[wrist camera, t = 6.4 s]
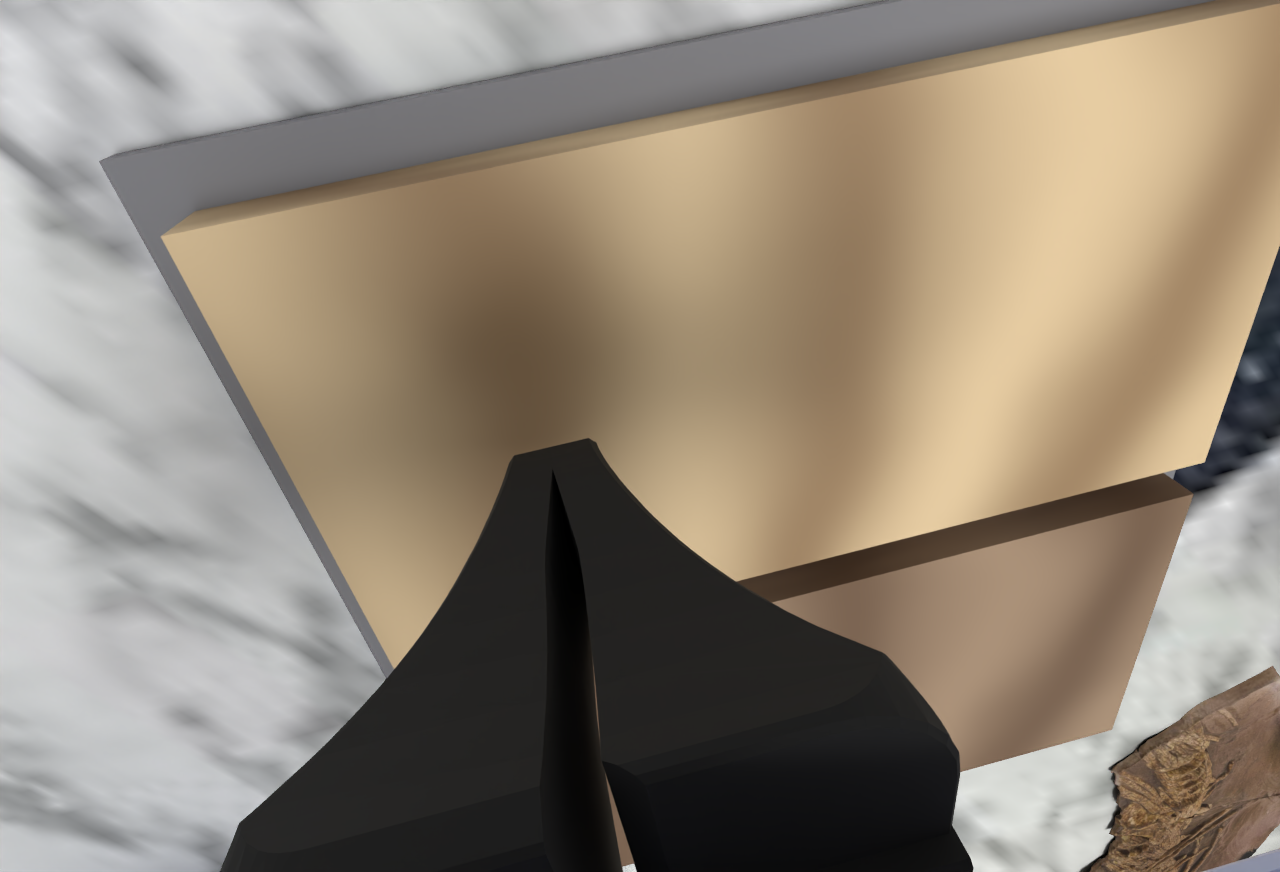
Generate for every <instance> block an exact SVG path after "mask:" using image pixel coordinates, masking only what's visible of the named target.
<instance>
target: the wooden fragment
mask: <svg viewBox="0 0 1280 872" xmlns="http://www.w3.org/2000/svg"><path fill="white" fill-rule="evenodd" d="M1111 773H1114V774H1115V781H1113V782H1114V784H1116V785H1117V786H1116V787H1117V788H1118V790H1119V793H1118V796H1117V801H1116V803H1117V804H1118V805H1119V807H1121V812H1120V815H1116V816H1115V823H1114V825H1113V827H1112V829H1111V831H1110V833H1109V834H1111V835H1114V836H1116V837H1115V840H1114V841H1113V842H1112V843H1110V846H1109V851H1108V855H1107V856H1106V855H1105V856H1106V857H1105V858H1102V859H1098V860H1097V862H1096V863H1095V864H1094V865H1092V866H1091V870H1090V872H1203V871H1206V870H1209V869H1213V868H1216V867H1219V866H1223V865H1226V864H1230V863H1233V862H1236V861H1240V860H1243V859H1246V858H1249V857H1250V856H1252V855H1253V854H1254V853H1255V852H1256V850H1257V849H1258V848H1259V846H1260V845H1261V844H1262V843H1263V842H1264V841H1265V840H1266V838H1267V837H1268V836H1269V834H1270V833H1271V832H1272V831H1273V830H1274V829H1275V828H1276V827H1277V826H1278V825H1279V824H1280V676H1279V675H1278V673H1277V672H1276V670H1275V669H1274V667H1273V666H1272V667H1270V668H1268V669H1267V670H1265V671H1263V672H1261V673H1260V674H1258V675H1256V676H1254V677H1252V678H1250V679H1248V680H1246V681H1244V682H1242V683H1240V684H1238V685H1237V686H1235V687H1233V688H1231V689H1229V690H1227V691H1225V692H1223V693H1221V694H1218V695H1216V696H1214V697H1212V698H1209V699H1207V700H1205V701H1203V702H1202V703H1200V704H1198V705H1197V706H1195V707H1194V708H1192V709H1191V710H1190V711H1188V712H1187V713H1186V714H1185V715H1184V716H1183V717H1182V718H1181V720H1179V721H1177V722H1176V723H1174V724H1173V725H1171V726H1169V727H1168V728H1167V729H1166V730H1164V731H1163V732H1161V733H1159V734H1158V735H1156V736H1155V737H1153V738H1151V739H1149V740H1147V741H1146V743H1145V744H1143V745H1141V746H1140V748H1139V752H1138V751H1137V749H1136V750H1135V752H1134V753H1133V754H1131V755H1130V756H1128V757H1127V758H1126V759H1125V760H1123V761H1121V762H1119V763H1118V764H1117V765H1115V766H1113V768H1112V771H1111Z"/></svg>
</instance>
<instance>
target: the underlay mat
mask: <svg viewBox="0 0 1280 872" xmlns="http://www.w3.org/2000/svg"><path fill="white" fill-rule="evenodd" d="M1210 1H1215V0H886V1H881V2H876V3H871V4H866V5H861V6H856V7H851V8H846V9H841V10H836V11H831V12H826V13H821V14H816V15H811V16H806V17H801V18H796V19H791V20H786V21H781V22H776V23H771V24H766V25H761V26H756V27H751V28H746V29H741V30H736V31H731V32H726V33H721V34H715V35H710V36H705V37H700V38H695V39H690V40H685V41H680V42H675V43H670V44H665V45H660V46H655V47H650V48H645V49H640V50H635V51H630V52H625V53H620V54H615V55H610V56H605V57H600V58H595V59H590V60H585V61H580V62H575V63H570V64H565V65H560V66H555V67H550V68H545V69H540V70H535V71H530V72H525V73H520V74H515V75H510V76H505V77H500V78H495V79H490V80H485V81H480V82H475V83H470V84H465V85H460V86H455V87H450V88H445V89H440V90H435V91H430V92H425V93H420V94H415V95H410V96H405V97H400V98H395V99H390V100H385V101H380V102H375V103H370V104H365V105H360V106H355V107H350V108H345V109H340V110H335V111H330V112H325V113H320V114H315V115H310V116H305V117H300V118H295V119H290V120H285V121H280V122H275V123H270V124H265V125H260V126H255V127H250V128H245V129H240V130H235V131H230V132H225V133H219V134H214V135H209V136H204V137H199V138H194V139H189V140H184V141H179V142H174V143H169V144H164V145H159V146H154V147H149V148H144V149H139V150H134V151H129V152H124V153H119V154H115V155H113V156H110V157H108V158H106V159H103V160H101V161H99V162H100V164H101V166H102V168H103V169H104V171H105V173H106V175H107V177H108V178H109V180H110V182H111V184H112V186H113V187H114V189H115V191H116V193H117V195H118V196H119V198H120V200H121V202H122V204H123V205H124V207H125V209H126V211H127V213H128V214H129V216H130V218H131V220H132V222H133V223H134V225H135V227H136V229H137V231H138V232H139V234H140V236H141V238H142V240H143V241H144V243H145V245H146V247H147V249H148V250H149V252H150V254H151V256H152V258H153V259H154V261H155V263H156V265H157V267H158V268H159V270H160V272H161V274H162V276H163V277H164V279H165V281H166V283H167V285H168V286H169V288H170V290H171V292H172V294H173V295H174V297H175V299H176V301H177V303H178V304H179V306H180V308H181V310H182V312H183V313H184V315H185V317H186V319H187V321H188V322H189V324H190V326H191V328H192V330H193V331H194V333H195V335H196V337H197V339H198V340H199V342H200V344H201V346H202V348H203V349H204V351H205V353H206V355H207V357H208V358H209V360H210V362H211V364H212V366H213V367H214V369H215V371H216V373H217V375H218V376H219V378H220V380H221V382H222V384H223V385H224V387H225V389H226V391H227V393H228V394H229V396H230V398H231V400H232V402H233V403H234V405H235V407H236V409H237V411H238V412H239V414H240V416H241V418H242V420H243V421H244V423H245V425H246V427H247V428H248V430H249V432H250V434H251V436H252V437H253V439H254V441H255V443H256V445H257V446H258V448H259V450H260V452H261V454H262V455H263V457H264V459H265V461H266V463H267V464H268V466H269V468H270V470H271V472H272V473H273V475H274V477H275V479H276V481H277V482H278V484H279V486H280V488H281V490H282V491H283V493H284V495H285V497H286V499H287V500H288V502H289V504H290V506H291V508H292V509H293V511H294V513H295V515H296V517H297V518H298V520H299V522H300V524H301V526H302V527H303V529H304V531H305V533H306V535H307V536H308V538H309V540H310V542H311V544H312V545H313V547H314V549H315V551H316V553H317V554H318V556H319V558H320V560H321V562H322V563H323V565H324V567H325V569H326V571H327V572H328V574H329V576H330V578H331V580H332V581H333V583H334V585H335V587H336V589H337V590H338V592H339V594H340V596H341V598H342V599H343V601H344V603H345V605H346V607H347V608H348V610H349V612H350V614H351V616H352V617H353V619H354V621H355V623H356V625H357V626H358V628H359V630H360V632H361V634H362V635H363V637H364V639H365V641H366V643H367V644H368V646H369V648H370V650H371V652H372V653H373V655H374V657H375V659H376V661H377V662H378V664H379V666H380V668H381V670H382V671H383V673H384V675H385V677H386V679H387V678H388V676H389V675H390V674H391V673H392V671H393V670H394V669H395V668H393V666H392V665H391V663H390V661H389V659H388V657H387V655H386V653H385V652H384V650H383V648H382V646H381V644H380V642H379V640H378V639H377V637H376V635H375V633H374V631H373V629H372V627H371V626H370V624H369V622H368V620H367V618H366V616H365V615H364V613H363V611H362V609H361V607H360V605H359V603H358V602H357V600H356V598H355V596H354V594H353V592H352V590H351V589H350V587H349V585H348V583H347V581H346V579H345V577H344V576H343V574H342V572H341V570H340V568H339V566H338V564H337V563H336V561H335V559H334V557H333V555H332V553H331V552H330V550H329V548H328V546H327V544H326V542H325V540H324V539H323V537H322V535H321V533H320V531H319V529H318V527H317V526H316V524H315V522H314V520H313V518H312V516H311V514H310V513H309V511H308V509H307V507H306V505H305V503H304V501H303V500H302V498H301V496H300V494H299V492H298V490H297V489H296V487H295V485H294V483H293V481H292V479H291V477H290V476H289V474H288V472H287V470H286V468H285V466H284V464H283V463H282V461H281V459H280V457H279V455H278V453H277V451H276V450H275V448H274V446H273V444H272V442H271V440H270V438H269V437H268V435H267V433H266V431H265V429H264V427H263V426H262V424H261V422H260V420H259V418H258V416H257V414H256V413H255V411H254V409H253V407H252V405H251V403H250V401H249V400H248V398H247V396H246V394H245V392H244V390H243V388H242V387H241V385H240V383H239V381H238V379H237V377H236V375H235V374H234V372H233V370H232V368H231V366H230V364H229V362H228V361H227V359H226V357H225V355H224V353H223V351H222V350H221V348H220V346H219V344H218V342H217V340H216V338H215V337H214V335H213V333H212V331H211V329H210V327H209V325H208V324H207V322H206V320H205V318H204V316H203V314H202V312H201V311H200V309H199V307H198V305H197V303H196V301H195V299H194V298H193V296H192V294H191V292H190V290H189V288H188V287H187V285H186V283H185V281H184V279H183V277H182V275H181V274H180V272H179V270H178V268H177V266H176V264H175V262H174V261H173V259H172V257H171V255H170V253H169V251H168V249H167V248H166V246H165V244H164V242H163V240H162V238H161V236H162V235H163V234H165V233H166V232H167V231H169V230H170V229H171V228H173V227H174V226H176V225H177V224H178V223H180V222H181V221H182V220H184V219H185V218H186V217H188V216H189V215H190V214H192V213H193V212H194V211H198V210H203V209H208V208H213V207H218V206H222V205H227V204H232V203H237V202H242V201H247V200H252V199H256V198H261V197H266V196H271V195H276V194H281V193H285V192H290V191H295V190H300V189H305V188H310V187H314V186H319V185H324V184H329V183H334V182H339V181H344V180H348V179H353V178H358V177H363V176H368V175H373V174H377V173H382V172H387V171H392V170H397V169H402V168H406V167H411V166H416V165H421V164H426V163H431V162H436V161H440V160H445V159H450V158H455V157H460V156H465V155H469V154H474V153H479V152H484V151H489V150H494V149H499V148H503V147H508V146H513V145H518V144H523V143H528V142H532V141H537V140H542V139H547V138H552V137H557V136H561V135H566V134H571V133H576V132H581V131H586V130H591V129H595V128H600V127H605V126H610V125H615V124H620V123H624V122H629V121H634V120H639V119H644V118H649V117H653V116H658V115H663V114H668V113H673V112H678V111H683V110H687V109H692V108H697V107H702V106H707V105H712V104H716V103H721V102H726V101H731V100H736V99H741V98H746V97H750V96H755V95H760V94H765V93H770V92H775V91H779V90H784V89H789V88H794V87H799V86H804V85H808V84H813V83H818V82H823V81H828V80H833V79H838V78H842V77H847V76H852V75H857V74H862V73H867V72H871V71H876V70H881V69H886V68H891V67H896V66H900V65H905V64H910V63H915V62H920V61H925V60H930V59H934V58H939V57H944V56H949V55H954V54H959V53H963V52H968V51H973V50H978V49H983V48H988V47H993V46H997V45H1002V44H1007V43H1012V42H1017V41H1022V40H1026V39H1031V38H1036V37H1041V36H1046V35H1051V34H1055V33H1060V32H1065V31H1070V30H1075V29H1080V28H1085V27H1089V26H1094V25H1099V24H1104V23H1109V22H1114V21H1118V20H1123V19H1128V18H1133V17H1138V16H1143V15H1148V14H1152V13H1157V12H1162V11H1167V10H1172V9H1177V8H1181V7H1186V6H1191V5H1196V4H1201V3H1206V2H1210ZM1175 471H1176V470H1172V471H1168V472H1164V474H1166V475H1167V476H1169V477H1170V478H1171V479H1173V477H1174V474H1175Z"/></svg>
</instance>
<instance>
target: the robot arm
mask: <svg viewBox="0 0 1280 872" xmlns="http://www.w3.org/2000/svg"><path fill="white" fill-rule="evenodd" d="M592 657H593V658H592ZM593 666H594V672H593ZM594 676H595V685H596V697H597V710H598V721H597V712H596V698H595V685H594ZM598 722H599V730H598ZM599 734H600V738H599ZM605 773H606V774H605ZM606 777H607V780H608V783H609V786H610V789H611V792H612V795H613V798H614V801H615V805H616V808H617V811H618V814H619V817H620V820H621V823H622V826H623V830H624V833H625V836H626V839H627V842H628V845H629V848H630V851H631V854H632V858H633V861H634V864H635V867H636V870H637V872H973V865H972V862H971V859H970V857H969V855H968V853H967V851H966V849H965V848H964V846H963V844H962V842H961V841H960V839H959V837H958V835H957V834H956V832H955V830H954V828H953V826H952V821H953V815H954V808H955V802H956V796H957V790H958V784H959V778H960V755H959V751H958V749H957V748H956V746H955V744H954V743H953V741H952V739H951V737H950V735H949V733H948V731H947V730H946V728H945V726H944V725H943V723H942V722H941V720H940V719H939V717H938V716H937V715H936V713H935V712H934V710H933V709H932V708H931V706H930V705H929V704H928V703H927V701H926V700H925V699H924V698H923V696H922V695H921V694H920V693H919V692H918V690H917V689H916V688H915V687H914V685H913V684H912V683H911V682H910V681H909V680H908V678H907V677H906V676H905V675H904V674H903V673H902V672H901V670H900V669H899V668H898V667H897V666H896V665H895V664H894V663H893V661H892V660H891V659H890V658H889V657H888V656H887V655H886V654H885V653H883V652H881V651H878V650H876V649H873V648H871V647H868V646H866V645H863V644H861V643H858V642H856V641H853V640H851V639H848V638H846V637H843V636H841V635H838V634H836V633H833V632H831V631H828V630H826V629H823V628H821V627H818V626H816V625H814V624H812V623H810V622H808V621H806V620H804V619H802V618H800V617H798V616H796V615H794V614H792V613H789V612H787V611H785V610H784V609H782V608H780V607H779V606H777V605H775V604H773V603H772V602H770V601H768V600H767V599H765V598H763V597H761V596H760V595H758V594H756V593H755V592H753V591H751V590H749V589H748V588H746V587H744V586H743V585H741V584H739V583H737V582H736V581H734V580H733V579H731V578H730V577H729V576H727V575H726V574H724V573H723V572H721V571H720V570H718V569H717V568H715V567H714V566H713V565H711V564H710V563H708V562H707V561H706V560H704V559H703V558H702V557H701V556H699V555H698V554H697V553H695V552H694V551H693V550H691V549H690V548H689V547H688V546H686V545H685V544H684V543H683V542H682V541H680V540H679V539H678V538H677V537H676V536H675V535H673V534H672V533H671V532H670V531H669V530H668V529H667V528H666V527H665V526H664V525H663V524H661V523H660V522H659V521H658V520H657V519H656V518H655V517H654V516H653V515H652V514H651V513H650V512H649V511H648V510H647V509H646V508H645V507H644V506H643V505H642V504H641V503H640V501H639V500H638V499H637V498H636V497H635V496H634V495H633V494H632V493H631V492H630V491H629V489H628V488H627V487H626V486H625V485H624V484H623V482H622V481H621V480H620V479H619V478H618V476H617V475H616V474H615V472H614V471H613V470H612V468H611V467H610V466H609V464H608V463H607V461H606V460H605V458H604V457H603V455H602V453H601V451H600V450H599V448H598V445H597V443H596V442H595V441H593V440H591V439H590V438H586V439H582V440H578V441H573V442H569V443H565V444H560V445H556V446H552V447H548V448H543V449H539V450H535V451H531V452H526V453H522V454H518V455H514V456H513V458H512V459H511V461H510V462H509V464H508V468H507V471H506V474H505V477H504V480H503V482H502V485H501V488H500V490H499V493H498V495H497V498H496V500H495V503H494V505H493V508H492V510H491V512H490V515H489V517H488V519H487V521H486V523H485V525H484V528H483V530H482V532H481V534H480V536H479V539H478V541H477V543H476V545H475V547H474V549H473V550H472V552H471V554H470V556H469V558H468V560H467V561H466V563H465V565H464V567H463V569H462V571H461V572H460V574H459V576H458V578H457V580H456V582H455V583H454V585H453V587H452V588H451V590H450V592H449V593H448V595H447V597H446V598H445V600H444V601H443V603H442V604H441V606H440V608H439V609H438V611H437V612H436V614H435V615H434V617H433V618H432V620H431V621H430V622H429V624H428V625H427V627H426V628H425V630H424V631H423V633H422V634H421V635H420V637H419V638H418V639H417V641H416V642H415V643H414V645H413V646H412V647H411V649H410V650H409V651H408V653H407V654H406V655H405V656H404V658H403V659H402V660H401V661H400V663H399V664H398V665H397V666H396V668H395V669H394V670H393V671H392V673H391V674H390V675H389V676H388V678H387V679H386V680H385V681H384V683H383V684H382V685H381V686H380V687H379V688H378V689H377V691H376V692H375V693H374V694H373V695H372V696H371V697H370V698H369V699H368V701H367V702H366V703H365V704H364V705H363V706H362V707H361V708H360V709H359V710H358V712H357V713H356V714H355V715H354V716H353V717H352V718H351V719H350V720H349V721H348V722H347V723H346V724H345V725H344V726H343V727H342V728H341V729H340V730H339V731H338V732H337V733H336V734H335V735H334V736H333V737H332V739H331V740H330V741H329V742H328V743H327V744H326V745H325V746H323V747H322V748H321V749H320V750H319V751H318V752H317V753H316V754H315V755H314V756H313V757H312V758H311V759H310V760H309V761H308V762H307V763H306V764H305V765H304V766H302V767H301V768H300V769H299V770H298V771H297V772H296V773H295V774H294V775H293V776H291V777H290V778H289V779H288V780H287V781H286V782H285V783H284V784H283V785H282V786H281V787H279V788H278V789H277V790H276V791H275V792H274V793H273V794H272V795H271V796H270V797H268V798H267V799H266V800H265V801H264V802H263V803H262V804H261V805H260V806H259V807H257V808H256V809H255V810H254V811H253V812H252V813H251V814H249V815H248V816H247V817H246V818H245V819H244V820H242V821H241V822H240V823H239V825H238V828H237V830H236V833H235V836H234V838H233V841H232V843H231V846H230V848H229V851H228V853H227V856H226V858H225V861H224V863H223V865H222V868H221V871H220V872H623V870H622V864H621V859H620V853H619V848H618V842H617V837H616V831H615V825H614V820H613V814H612V809H611V803H610V797H609V792H608V786H607V780H606ZM1203 872H1280V849H1277V850H1273V851H1270V852H1266V853H1263V854H1260V855H1256V856H1253V857H1250V858H1246V859H1243V860H1240V861H1236V862H1233V863H1230V864H1226V865H1223V866H1219V867H1216V868H1213V869H1209V870H1206V871H1203Z"/></svg>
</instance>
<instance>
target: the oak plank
mask: <svg viewBox="0 0 1280 872" xmlns="http://www.w3.org/2000/svg"><path fill="white" fill-rule="evenodd" d="M161 238H162V240H163V242H164V244H165V246H166V248H167V249H168V251H169V253H170V255H171V257H172V259H173V261H174V262H175V264H176V266H177V268H178V270H179V272H180V274H181V275H182V277H183V279H184V281H185V283H186V285H187V287H188V288H189V290H190V292H191V294H192V296H193V298H194V299H195V301H196V303H197V305H198V307H199V309H200V311H201V312H202V314H203V316H204V318H205V320H206V322H207V324H208V325H209V327H210V329H211V331H212V333H213V335H214V337H215V338H216V340H217V342H218V344H219V346H220V348H221V350H222V351H223V353H224V355H225V357H226V359H227V361H228V362H229V364H230V366H231V368H232V370H233V372H234V374H235V375H236V377H237V379H238V381H239V383H240V385H241V387H242V388H243V390H244V392H245V394H246V396H247V398H248V400H249V401H250V403H251V405H252V407H253V409H254V411H255V413H256V414H257V416H258V418H259V420H260V422H261V424H262V426H263V427H264V429H265V431H266V433H267V435H268V437H269V438H270V440H271V442H272V444H273V446H274V448H275V450H276V451H277V453H278V455H279V457H280V459H281V461H282V463H283V464H284V466H285V468H286V470H287V472H288V474H289V476H290V477H291V479H292V481H293V483H294V485H295V487H296V489H297V490H298V492H299V494H300V496H301V498H302V500H303V501H304V503H305V505H306V507H307V509H308V511H309V513H310V514H311V516H312V518H313V520H314V522H315V524H316V526H317V527H318V529H319V531H320V533H321V535H322V537H323V539H324V540H325V542H326V544H327V546H328V548H329V550H330V552H331V553H332V555H333V557H334V559H335V561H336V563H337V564H338V566H339V568H340V570H341V572H342V574H343V576H344V577H345V579H346V581H347V583H348V585H349V587H350V589H351V590H352V592H353V594H354V596H355V598H356V600H357V602H358V603H359V605H360V607H361V609H362V611H363V613H364V615H365V616H366V618H367V620H368V622H369V624H370V626H371V627H372V629H373V631H374V633H375V635H376V637H377V639H378V640H379V642H380V644H381V646H382V648H383V650H384V652H385V653H386V655H387V657H388V659H389V661H390V663H391V665H392V666H393V668H396V666H397V665H398V664H399V663H400V661H401V660H402V659H403V658H404V656H405V655H406V654H407V653H408V651H409V650H410V649H411V647H412V646H413V645H414V643H415V642H416V641H417V639H418V638H419V637H420V635H421V634H422V633H423V631H424V630H425V628H426V627H427V625H428V624H429V622H430V621H431V620H432V618H433V617H434V615H435V614H436V612H437V611H438V609H439V608H440V606H441V604H442V603H443V601H444V600H445V598H446V597H447V595H448V593H449V592H450V590H451V588H452V587H453V585H454V583H455V582H456V580H457V578H458V576H459V574H460V572H461V571H462V569H463V567H464V565H465V563H466V561H467V560H468V558H469V556H470V554H471V552H472V550H473V549H474V547H475V545H476V543H477V541H478V539H479V536H480V534H481V532H482V530H483V528H484V525H485V523H486V521H487V519H488V517H489V515H490V512H491V510H492V508H493V505H494V503H495V500H496V498H497V495H498V493H499V490H500V488H501V485H502V482H503V480H504V477H505V474H506V471H507V468H508V464H509V462H510V461H511V459H512V458H513V456H514V455H518V454H522V453H526V452H531V451H535V450H539V449H543V448H548V447H552V446H556V445H560V444H565V443H569V442H573V441H578V440H582V439H586V438H590V439H591V440H593V441H595V442H596V443H597V445H598V448H599V450H600V451H601V453H602V455H603V457H604V458H605V460H606V461H607V463H608V464H609V466H610V467H611V468H612V470H613V471H614V472H615V474H616V475H617V476H618V478H619V479H620V480H621V481H622V482H623V484H624V485H625V486H626V487H627V488H628V489H629V491H630V492H631V493H632V494H633V495H634V496H635V497H636V498H637V499H638V500H639V501H640V503H641V504H642V505H643V506H644V507H645V508H646V509H647V510H648V511H649V512H650V513H651V514H652V515H653V516H654V517H655V518H656V519H657V520H658V521H659V522H660V523H661V524H663V525H664V526H665V527H666V528H667V529H668V530H669V531H670V532H671V533H672V534H673V535H675V536H676V537H677V538H678V539H679V540H680V541H682V542H683V543H684V544H685V545H686V546H688V547H689V548H690V549H691V550H693V551H694V552H695V553H697V554H698V555H699V556H701V557H702V558H703V559H704V560H706V561H707V562H708V563H710V564H711V565H713V566H714V567H715V568H717V569H718V570H720V571H721V572H723V573H724V574H726V575H727V576H729V577H730V578H731V579H733V580H734V581H740V580H744V579H748V578H752V577H756V576H760V575H764V574H768V573H772V572H775V571H779V570H783V569H787V568H791V567H795V566H799V565H803V564H807V563H811V562H815V561H819V560H823V559H827V558H830V557H834V556H838V555H842V554H846V553H850V552H854V551H858V550H862V549H866V548H870V547H874V546H878V545H882V544H885V543H889V542H893V541H897V540H901V539H905V538H909V537H913V536H917V535H921V534H925V533H929V532H933V531H937V530H940V529H944V528H948V527H952V526H956V525H960V524H964V523H968V522H972V521H976V520H980V519H984V518H988V517H992V516H996V515H999V514H1003V513H1007V512H1011V511H1015V510H1019V509H1023V508H1027V507H1031V506H1035V505H1039V504H1043V503H1047V502H1051V501H1054V500H1058V499H1062V498H1066V497H1070V496H1074V495H1078V494H1082V493H1086V492H1090V491H1094V490H1098V489H1102V488H1106V487H1109V486H1113V485H1117V484H1121V483H1125V482H1129V481H1133V480H1137V479H1141V478H1145V477H1149V476H1153V475H1157V474H1161V473H1164V472H1168V471H1172V470H1176V469H1180V468H1184V467H1188V466H1192V465H1196V464H1200V463H1204V462H1205V460H1206V457H1207V454H1208V451H1209V448H1210V445H1211V442H1212V439H1213V437H1214V434H1215V431H1216V428H1217V425H1218V422H1219V419H1220V416H1221V413H1222V411H1223V408H1224V405H1225V402H1226V399H1227V396H1228V393H1229V390H1230V387H1231V384H1232V382H1233V379H1234V376H1235V373H1236V370H1237V367H1238V364H1239V361H1240V358H1241V356H1242V353H1243V350H1244V347H1245V344H1246V341H1247V338H1248V335H1249V332H1250V330H1251V327H1252V324H1253V321H1254V318H1255V315H1256V312H1257V309H1258V306H1259V304H1260V301H1261V298H1262V295H1263V292H1264V289H1265V286H1266V283H1267V280H1268V277H1269V275H1270V272H1271V269H1272V266H1273V263H1274V260H1275V257H1276V254H1277V251H1278V249H1279V246H1280V0H1215V1H1210V2H1206V3H1201V4H1196V5H1191V6H1186V7H1181V8H1177V9H1172V10H1167V11H1162V12H1157V13H1152V14H1148V15H1143V16H1138V17H1133V18H1128V19H1123V20H1118V21H1114V22H1109V23H1104V24H1099V25H1094V26H1089V27H1085V28H1080V29H1075V30H1070V31H1065V32H1060V33H1055V34H1051V35H1046V36H1041V37H1036V38H1031V39H1026V40H1022V41H1017V42H1012V43H1007V44H1002V45H997V46H993V47H988V48H983V49H978V50H973V51H968V52H963V53H959V54H954V55H949V56H944V57H939V58H934V59H930V60H925V61H920V62H915V63H910V64H905V65H900V66H896V67H891V68H886V69H881V70H876V71H871V72H867V73H862V74H857V75H852V76H847V77H842V78H838V79H833V80H828V81H823V82H818V83H813V84H808V85H804V86H799V87H794V88H789V89H784V90H779V91H775V92H770V93H765V94H760V95H755V96H750V97H746V98H741V99H736V100H731V101H726V102H721V103H716V104H712V105H707V106H702V107H697V108H692V109H687V110H683V111H678V112H673V113H668V114H663V115H658V116H653V117H649V118H644V119H639V120H634V121H629V122H624V123H620V124H615V125H610V126H605V127H600V128H595V129H591V130H586V131H581V132H576V133H571V134H566V135H561V136H557V137H552V138H547V139H542V140H537V141H532V142H528V143H523V144H518V145H513V146H508V147H503V148H499V149H494V150H489V151H484V152H479V153H474V154H469V155H465V156H460V157H455V158H450V159H445V160H440V161H436V162H431V163H426V164H421V165H416V166H411V167H406V168H402V169H397V170H392V171H387V172H382V173H377V174H373V175H368V176H363V177H358V178H353V179H348V180H344V181H339V182H334V183H329V184H324V185H319V186H314V187H310V188H305V189H300V190H295V191H290V192H285V193H281V194H276V195H271V196H266V197H261V198H256V199H252V200H247V201H242V202H237V203H232V204H227V205H222V206H218V207H213V208H208V209H203V210H198V211H194V212H193V213H192V214H190V215H189V216H188V217H186V218H185V219H184V220H182V221H181V222H180V223H178V224H177V225H176V226H174V227H173V228H171V229H170V230H169V231H167V232H166V233H165V234H163V235H162V236H161Z"/></svg>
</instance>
